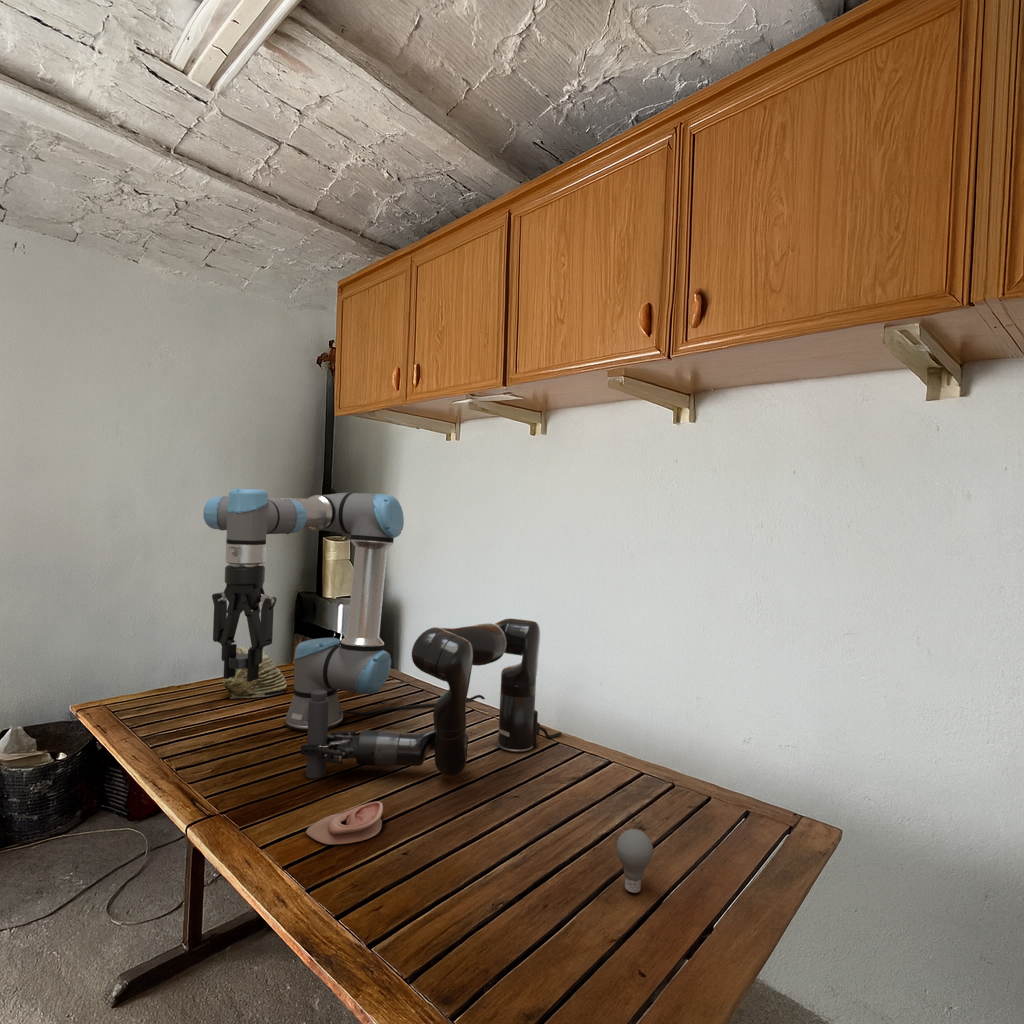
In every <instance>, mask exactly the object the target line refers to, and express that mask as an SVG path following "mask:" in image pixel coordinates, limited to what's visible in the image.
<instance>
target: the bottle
mask: <svg viewBox="0 0 1024 1024" xmlns="http://www.w3.org/2000/svg"><path fill="white" fill-rule="evenodd" d="M328 708H329V699H328V698H327V692H326V691H324V690H316V691H313V692H312V693H311V699H309V709H308V732H307V736H306V738H307V739H306V744H316V745H323V744H327V735H329V734H328V732H329V730H328ZM326 749H328V748H326ZM326 775H327V762H323V761H318V757H317V755H306V763H305V777H307V778H309V779H319V778H323V777H325V776H326Z"/></svg>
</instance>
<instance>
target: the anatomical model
mask: <svg viewBox="0 0 1024 1024" xmlns="http://www.w3.org/2000/svg"><path fill="white" fill-rule="evenodd" d="M383 813H384V804H383V803H382V802H381V801H377V800H376V801H371V802H367V803H364V804H361V805H358V806H355V807H353V808H351V809H349V810H346V811H344V812H341V813H336V814H331V815H328V816H326V817H323V818H321V819H319V820H318V821H315V823H313V824H311V825H310V826H309V827H307V829H306V831H305V833H306V835H307V836H308V837H310V838H311V839H313V840H315V841H317V842H318V843H321V844H323V845H333V846H335V845H344V844H345V845H346V844H352V843H357V842H363V841H365V840H368V839H371V838H373V837H374V836H376V835H378V834H379V833H380V832H381V829H382V827H383V821H382V815H383Z"/></svg>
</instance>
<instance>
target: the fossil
mask: <svg viewBox="0 0 1024 1024" xmlns="http://www.w3.org/2000/svg"><path fill="white" fill-rule="evenodd" d="M248 649H250V647H247V646H246V647H245V646H237V648H236V654H241V653H247V654H248ZM222 676H223V677H222V685H223V687H224V688H225V690H226V691H228V693H229V698H230V699H250V698H264V697H271V696H275V695H281V694H284V693H285V691H286V689H287V687H288V686H287V680H286V678H285V676H284V674H283V673H282V672H281V669H279V668H278V667H277V665H276V663H275V662H274V660H273V659H272V658H271V657H270V656H269V655H268V654H267V653H266V652H265V650H264V649H263V655H262V663H261V664H259V678H258V679H256V680H253V681H251V682H247V668H246V669H236V674H235V676H233V677H230V678H228V679H223V678H224V674H223V675H222Z"/></svg>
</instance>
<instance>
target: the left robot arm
mask: <svg viewBox="0 0 1024 1024" xmlns="http://www.w3.org/2000/svg"><path fill="white" fill-rule="evenodd" d="M202 513H203V514H202V515H203V517H202V518H203V520H204V523H205V524H206V526H208V527H209V528H210V529H213V530H219V531H226V540H225V543H226V544H225V563H226V564H228V565H226V566H225V567H224V583H225V585H226V586H225V588H224V589H223V591H222V592H216V593H213V594H212V595H211V599H212V603H213V625H212V641H213V642H214V643H219V644H220V645H221V658H220V659H221V661H222V662H223V675H224V676H223V677H224V678H223V677H222V680H223V679H228V678H230V677H233V676H235V674H236V669H232V668H229V667H228V660H229V656H231V655H234V654H236V649H237V648H238V646H237V645H238V643H237V644H236V640H235V636H236V633H237V628H238V624H239V621H240V617H241V614H242V613H243V612H244V616H245V617H246V622H247V628H248V633H249V637H250V638H249V639H250V644H251V646H249V648H250V649H248V665H247V682H251V681H253V680H256V679H258V678H259V664H261V663H262V655H263V650H264V647H268V646H270V645H272V644H273V637H274V636H273V634H274V610H275V609H274V608H275V606H276V603H277V600H278V599H277V597H276V596H269V595H268V594H265V593H266V592H265V590H264V584H265V580H266V579H265V578H266V566H265V565H263V564H265V563H266V561H267V559H266V557H267V556H266V555H267V535H283V534H284V535H290V534H295V533H298V532H300V531H301V530H302V529H304V528H309V529H310V530H312V531H325V532H333V533H339V534H344V535H350V542H351V543H352V544H353V546H354V547H355V548H354V559H353V567H352V568H353V570H352V579H351V588H350V598H349V599H350V600H349V609H348V610H349V612H348V622H347V632H346V635H345V636H344V637H343V638H342V639H341V640H340V639H339V638H337V637H321V638H313V639H307V640H304V641H302V642H299V643H298V644H297V645H296V647H295V652H294V653H295V654H294V658H293V660H294V672H293V695H292V696H293V697H292V699H291V702H290V704H289V708H288V711H287V713H286V715H285V726H286V728H287V729H289V730H291V731H294V732H295V731H296V732H301V733H308V709H309V699H311V693H312V692H313V691H316V690H324V691H326V692H327V698H328V699H329V708H328V731H329V730H332V729H335V728H337V727H339V726H340V725H342V723H343V722H344V715H354V716H355V715H356V716H369V715H374V714H377V713H381V712H387V711H388V712H389V711H395V710H405V709H415V708H416V709H417V708H427V707H428V708H429V707H435V704H436V702H432V703H421V704H420V703H419V704H408V705H400V706H399V705H398V706H389V707H382V708H378V709H374V710H370V711H354V710H343V709H342V706H341V702H340V699H339V695H338V691H345V692H351V693H356V694H358V695H362V694H364V695H365V694H366V695H373V694H376V693H378V692H379V691H380V690H381V689H382V688H383V687H384V685H385V684H386V682H387V680H388V678H389V676H390V672H391V668H392V658H391V654H390V653H389V652H387V650H385V642H384V641H383V640H382V638H381V637H380V633H381V620H382V612H383V611H382V610H383V599H384V590H385V589H384V587H385V579H386V578H385V577H386V567H387V556H388V549H390V548H391V547H392V546H393V545H394V540H395V538H398V537H399V536H400V535H401V534H402V531H403V529H404V522H405V519H404V511H403V508H402V506H401V504H400V501H399V500H398V499H397V498H396V497H395V496H393V495H390V494H386V493H385V494H384V493H365V492H364V493H362V492H361V493H360V492H338V493H330V494H314V495H311V496H309V497H307V498H301V497H300V498H298V497H297V498H295V497H269V495H268V491H267V490H265V489H256V488H255V489H254V488H253V489H252V488H251V489H250V488H232V489H231V490H230V491H229V492H228V496H226V495H225V496H224V495H223V496H213V497H211V498H210V499H208V500H207V501H206V503H205V504H204V507H203V512H202ZM260 606H261V608H260ZM477 699H481V700H486V698H485V697H484V696H483V695H481V694H476V695H474V696H471V697H467V699H466V702H471V701H474V700H477Z"/></svg>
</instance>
